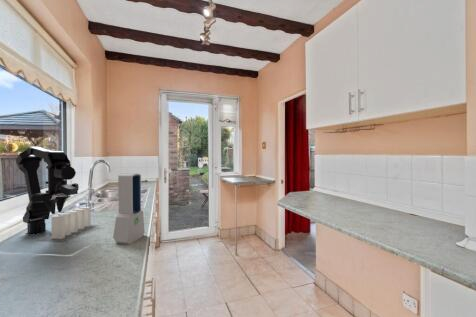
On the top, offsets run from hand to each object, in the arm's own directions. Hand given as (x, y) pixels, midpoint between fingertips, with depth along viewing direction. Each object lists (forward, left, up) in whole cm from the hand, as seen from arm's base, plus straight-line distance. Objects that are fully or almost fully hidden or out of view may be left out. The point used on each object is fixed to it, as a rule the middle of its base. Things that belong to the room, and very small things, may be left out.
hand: (56, 213), depth 106 cm
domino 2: (0, +5, -11) cm, 12 cm away
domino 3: (0, +9, -11) cm, 14 cm away
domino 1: (+1, 0, -11) cm, 11 cm away
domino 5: (0, +18, -11) cm, 21 cm away
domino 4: (0, +13, -11) cm, 18 cm away
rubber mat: (0, +8, -12) cm, 14 cm away
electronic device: (+33, +3, -12) cm, 35 cm away
